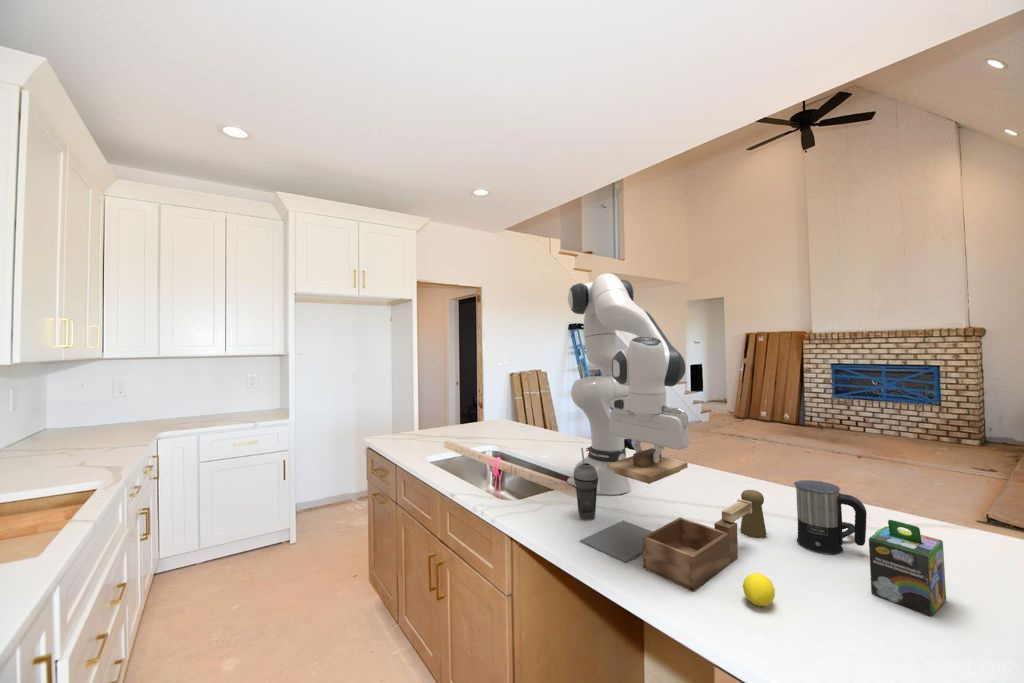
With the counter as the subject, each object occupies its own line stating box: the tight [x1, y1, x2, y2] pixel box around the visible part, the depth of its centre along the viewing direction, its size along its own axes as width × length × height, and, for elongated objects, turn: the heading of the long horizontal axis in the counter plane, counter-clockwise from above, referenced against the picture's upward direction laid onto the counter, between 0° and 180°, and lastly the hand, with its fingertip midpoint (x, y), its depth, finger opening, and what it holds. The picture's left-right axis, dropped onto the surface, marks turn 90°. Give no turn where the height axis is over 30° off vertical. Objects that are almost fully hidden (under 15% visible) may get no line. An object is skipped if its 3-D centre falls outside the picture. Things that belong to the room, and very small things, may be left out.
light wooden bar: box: [721, 498, 752, 523], centre depth 103 cm, size 3×10×3 cm, turn 129°
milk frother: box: [793, 479, 868, 555], centre depth 107 cm, size 14×16×15 cm
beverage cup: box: [573, 447, 599, 521], centre depth 125 cm, size 7×7×20 cm
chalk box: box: [868, 519, 947, 617], centre depth 84 cm, size 9×9×15 cm
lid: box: [607, 447, 689, 485], centre depth 105 cm, size 12×16×5 cm
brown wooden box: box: [642, 517, 739, 592], centre depth 98 cm, size 12×20×8 cm, turn 129°
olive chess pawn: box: [739, 489, 768, 539], centre depth 112 cm, size 6×6×11 cm
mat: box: [579, 520, 654, 564], centre depth 110 cm, size 14×18×1 cm
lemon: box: [742, 572, 776, 607], centre depth 83 cm, size 7×5×5 cm
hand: (647, 460), depth 105 cm, fingers closed on lid, 3 cm apart
